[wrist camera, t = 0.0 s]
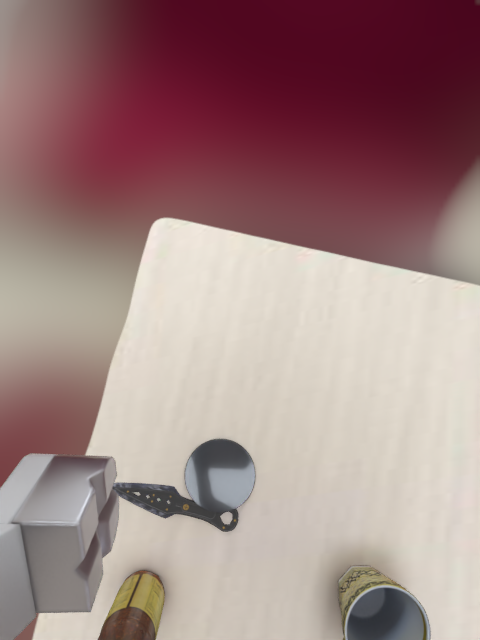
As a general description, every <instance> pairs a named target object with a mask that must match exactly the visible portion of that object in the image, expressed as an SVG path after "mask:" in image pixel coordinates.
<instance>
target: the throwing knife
mask: <svg viewBox="0 0 480 640" xmlns="http://www.w3.org/2000/svg"><path fill="white" fill-rule="evenodd" d="M112 489H113V490H114V491H115V492H116V493H117V494H118V495H119V496H120V497H122V498H124V499H126V500H128V501H130V502H131V503H133V504H135V505H137V506H139V507H141V508H143V509H145V510H147V511H149V512H151V513H154V514H156V515H158V516H161V517H163V518H167V517H169V516H172V515H174V514H182V515H187V516H191V517H195V518H198V519H202V520H204V521H206V522H209V523H210V524H212V525H214V526H216V527H217V528H219V529H220V530H221V531H225V532H228V531H231V530H233V529H234V528H235V527H236V525H237V523H238V512H237V510H236V509H234V510H232V511H229V512H230V513H232V514H233V520H232V521H231V523H230V525H224V523H223V522H222V520H221V518H220V516H221V515H222V514H223V513H225V512H223V513H217V512H211V511H208V510H205V509H203V508H202V507H200V506H199V505H198V504H196V502H195V501H192V500H189V499H186V498H184V497H182V496H180V495H179V493H178V492H177V490H176V489H175V487H172V486H165V485H155V484H139V483H114V484H113V487H112ZM132 492H139V493H140V494H141V495H140V496H137V495H135V494H134V493H132ZM147 495H149V496H150V497H151V498H148V499H147V497H146V496H147ZM157 498H160V499H161V501H159V502H158V501H157ZM168 500H169V501H170V502H171V503H170V504H167V502H166V501H168Z"/></svg>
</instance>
